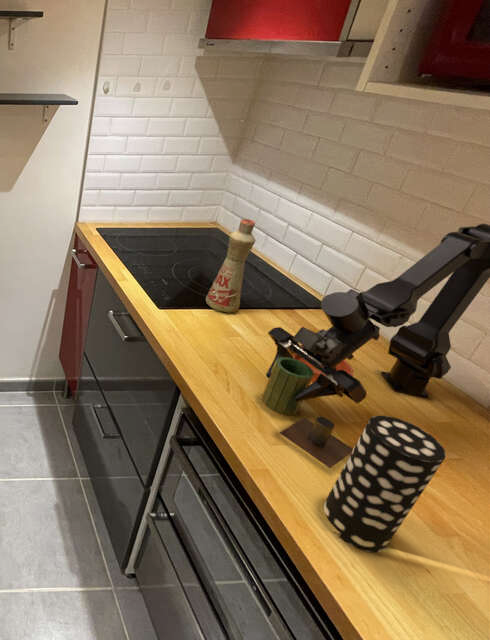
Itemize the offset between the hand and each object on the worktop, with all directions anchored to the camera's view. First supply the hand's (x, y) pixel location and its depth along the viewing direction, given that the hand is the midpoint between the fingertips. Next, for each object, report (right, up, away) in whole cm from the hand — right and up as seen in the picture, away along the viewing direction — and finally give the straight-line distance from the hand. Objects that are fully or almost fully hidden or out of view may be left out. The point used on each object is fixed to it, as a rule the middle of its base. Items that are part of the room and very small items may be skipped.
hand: (280, 388), depth 94 cm
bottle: (+11, +11, +39) cm, 42 cm away
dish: (+18, -1, +13) cm, 22 cm away
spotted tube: (-3, -16, -21) cm, 26 cm away
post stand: (+2, -9, -6) cm, 11 cm away
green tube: (+1, -5, +3) cm, 6 cm away
